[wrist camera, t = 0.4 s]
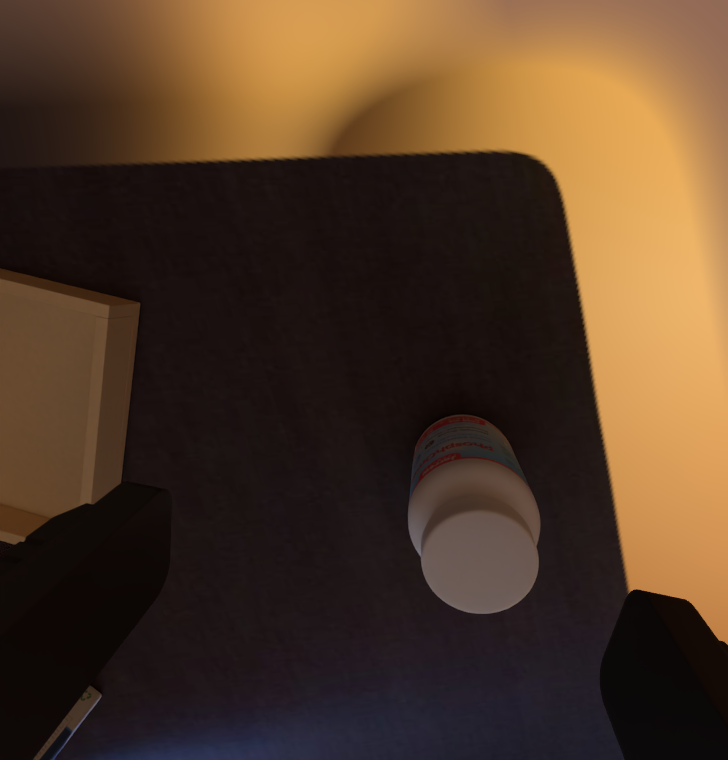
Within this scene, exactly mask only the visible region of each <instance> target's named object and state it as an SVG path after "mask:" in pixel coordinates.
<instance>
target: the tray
mask: <svg viewBox="0 0 728 760" xmlns="http://www.w3.org/2000/svg"><path fill="white" fill-rule="evenodd" d="M139 313H140V303H139V302H135V301H131V300H127V299H123V298H119V297H115V296H111V295H107V294H103V293H99V292H95V291H90V290H86V289H82V288H78V287H74V286H70V285H66V284H62V283H58V282H54V281H50V280H46V279H42V278H37V277H33V276H29V275H25V274H21V273H17V272H13V271H9V270H5V269H1V268H0V540H1V541H4V542H8V543H11V544H17V543H18V542H20V541H22V542H24V541H25V538H26V536H28V535H29V534H31V533H32V532H33V531H35V530H36V529H37V528H39V527H40V526H41V525H43V524H44V523H46V522H47V521H48V520H50V519H51V518H52V517H54V516H57V515H59V514H62V513H64V512H66V511H69V510H71V509H74V508H76V507H78V506H81V505H83V504H85V503H89V504H95V503H96V502H97V501H98V500H100V499H101V498H102V497H103V496H105V495H106V494H107V493H109V492H110V491H111V490H112V489H114V488H115V487H116V486H118V485H119V484H120V483H121V479H122V470H123V460H124V451H125V442H126V433H127V423H128V414H129V405H130V396H131V386H132V377H133V368H134V359H135V349H136V340H137V331H138V322H139Z"/></svg>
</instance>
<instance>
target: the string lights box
mask: <svg viewBox="0 0 728 760" xmlns="http://www.w3.org/2000/svg"><path fill="white" fill-rule="evenodd" d="M100 698H101V693H100V692H98V691H97V690H96V689H94V688H93V687H92V686H89V687H88V688H87V690H86V691H85V692H84V694H83V695H82V696H81V698H80V699H79V700H78V701H77V703H76V704H75V705H74V707H73V708H72V709H71V711H70V712H69V713H68V715H67V716H66V717H65V718H64V720H63V721H62V722H61V724H60V725H59V726H58V728H57V729H56V730H55V732H54V733H53V734H52V735H51V737H50V738H49V739H48V741H47V742H46V743H45V745H44V746H43V747H42V748H41V750H40V751H39V752H38V754H37V755H36V756H35V758H34V759H33V760H54V758H55V757H56V756H57V754H58V753H59V752H60V751H61V749H62V748H63V747H64V745H65V744H66V743H67V741H68V740H69V739H70V737H71V736H72V735H73V733H74V732H75V731H76V730H77V728H78V727H79V726H80V724H81V723H82V722H83V720H84V719H85V718H86V716H87V715H88V714H89V713H90V711H91V710H92V709H93V707H94V706H95V705H96V704H97V702H98V701H99V700H100Z"/></svg>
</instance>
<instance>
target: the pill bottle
mask: <svg viewBox="0 0 728 760" xmlns="http://www.w3.org/2000/svg"><path fill="white" fill-rule="evenodd" d="M408 527H409V533H410V537H411V540H412V542H413V545H414V547H415V549H416V550H417V552H418V554H419V555H420V556H421V565H422V570H423V573H424V576H425V579H426V581H427V583H428V585H429V586H430V588H431V589H432V590H433V592H434V593H435V594H436V595H437V596H438V597H439V598H440V599H442V600H443V601H444V602H446V603H447V604H449V605H450V606H452V607H454V608H457V609H459V610H462V611H465V612H469V613H478V614H488V613H494V612H499V611H502V610H505V609H508V608H510V607H511V606H513V605H515V604H516V603H518V602H519V601H520V600H522V599H523V598H524V597H525V596H526V595H527V593H528V592H529V591H530V590H531V588H532V586H533V584H534V582H535V580H536V577H537V573H538V567H539V558H538V552H537V548H536V545H537V542H538V539H539V533H540V516H539V511H538V507H537V504H536V501H535V498H534V496H533V494H532V492H531V489H530V487H529V485H528V483H527V481H526V479H525V476H524V474H523V472H522V470H521V468H520V465H519V463H518V461H517V459H516V457H515V454H514V452H513V450H512V448H511V446H510V444H509V442H508V440H507V439H506V437H505V436H504V435H503V434H502V433H501V432H500V431H499V430H498V429H497V428H496V427H495V426H494V425H493V424H491V423H490V422H488V421H486V420H484V419H482V418H479V417H476V416H472V415H452V416H448V417H445V418H442V419H440V420H438V421H437V422H435V423H433V424H432V425H431V426H430V427H428V428H427V429H426V430H425V431H424V433H423V434H422V435H421V437H420V439H419V440H418V443H417V445H416V448H415V452H414V457H413V466H412V476H411V488H410V497H409V508H408Z"/></svg>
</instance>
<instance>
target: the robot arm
mask: <svg viewBox="0 0 728 760" xmlns="http://www.w3.org/2000/svg"><path fill="white" fill-rule="evenodd" d="M171 510H172V499H171V494H170V492H169V491H168V490H166V489H162V488H157V487H152V486H147V485H143V484H138V483H133V482H128V481H126V482H122V483H120V484H119V485H118V486H116V487H115V488H114V489H112V490H111V491H110V492H109V493H107V494H106V495H105V496H103V497H102V498H101V499H100V500H98V501H97V502H96V503H95V504H89V503H85V504H83V505H81V506H78V507H76V508H74V509H71V510H69V511H66V512H64V513H62V514H59V515H57V516H54V517H52V518H51V519H50V520H48V521H47V522H46V523H44V524H43V525H41V526H40V527H39V528H37V529H36V530H35V531H33V532H32V533H31V534H29V535H28V536H26V538H25V541H24V542H22V541H20V542H18V543H17V544H15V545H14V546H13V547H11V548H10V549H9V550H7V551H6V552H5V553H3V554H2V557H1V558H0V760H33V759H34V758H35V756H36V755H37V754H38V752H39V751H40V750H41V748H42V747H43V746H44V745H45V743H46V742H47V741H48V739H49V738H50V737H51V735H52V734H53V733H54V732H55V730H56V729H57V728H58V726H59V725H60V724H61V722H62V721H63V720H64V718H65V717H66V716H67V715H68V713H69V712H70V711H71V709H72V708H73V707H74V705H75V704H76V703H77V701H78V700H79V699H80V698H81V696H82V695H83V694H84V692H85V691H86V690H87V688H88V687H89V686H90V684H91V683H92V682H93V681H94V679H95V678H96V677H97V675H98V674H99V673H100V671H101V670H102V669H103V668H104V666H105V665H106V664H107V662H108V661H109V660H110V658H111V657H112V656H113V654H114V653H115V652H116V651H117V649H118V648H119V647H120V645H121V644H122V643H123V641H124V640H125V639H126V637H127V636H128V635H129V634H130V632H131V631H132V630H133V628H134V627H135V626H136V624H137V623H138V622H139V620H140V619H141V618H142V617H143V615H144V614H145V613H146V611H147V610H148V609H149V607H150V606H151V605H152V604H153V602H154V601H155V599H156V598H157V597H158V595H159V593H160V591H161V589H162V587H163V585H164V583H165V580H166V577H167V574H168V570H169V564H170V541H171ZM600 688H601V695H602V699H603V703H604V706H605V709H606V711H607V714H608V717H609V719H610V722H611V724H612V727H613V730H614V732H615V735H616V738H617V740H618V743H619V746H620V748H621V751H622V754H623V756H624V759H625V760H728V645H727V644H726V643H725V642H723V641H719V640H718V639H717V637H716V636H715V635H714V633H713V632H712V631H711V629H710V628H709V626H708V625H707V624H706V622H705V621H704V620H703V618H702V617H701V615H700V614H699V613H698V611H697V610H696V609H695V607H694V606H693V605H692V604H691V603H690V602H689V601H687V600H685V599H680V598H675V597H670V596H666V595H661V594H656V593H651V592H647V591H642V590H633V591H631V592H630V593H629V594H628V596H627V597H626V599H625V602H624V604H623V607H622V609H621V612H620V615H619V617H618V620H617V622H616V625H615V628H614V630H613V633H612V635H611V638H610V641H609V643H608V646H607V648H606V651H605V654H604V656H603V659H602V663H601V668H600Z"/></svg>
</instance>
